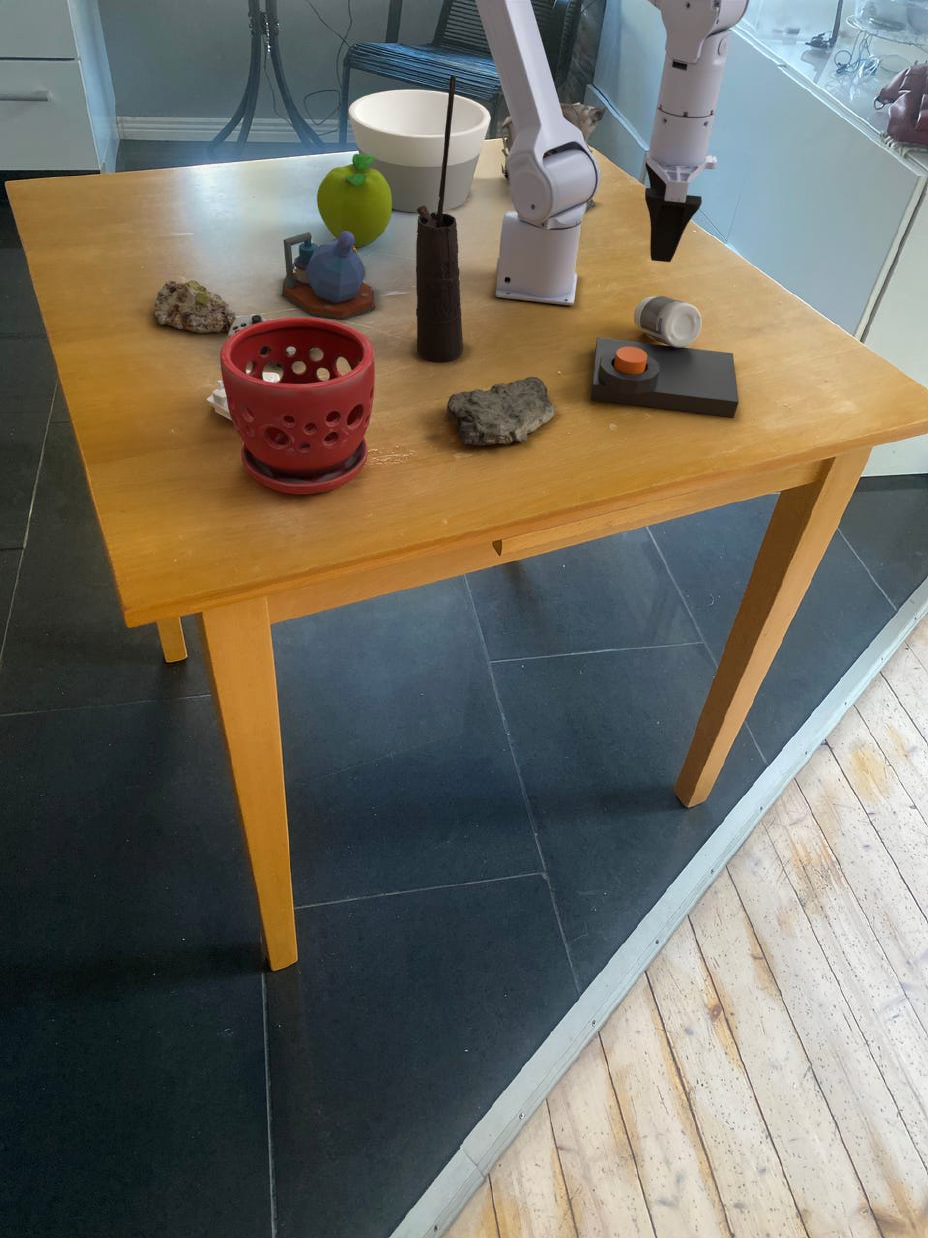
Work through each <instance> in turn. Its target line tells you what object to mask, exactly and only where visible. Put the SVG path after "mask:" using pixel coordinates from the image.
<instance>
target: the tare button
mask: <svg viewBox="0 0 928 1238" xmlns="http://www.w3.org/2000/svg"><path fill="white" fill-rule="evenodd" d="M646 361H647V354H646V352H644V351H643V350H641V349H639V348H636V347H622V348H620V349H618V350H617V352H616V357H615V362H614V368H615V369H616V370H617V371H620V372H622V373H624V374H632V375H636V374H642V373H643V372H644V370H645V366H646Z"/></svg>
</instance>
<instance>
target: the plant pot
mask: <svg viewBox="0 0 928 1238" xmlns="http://www.w3.org/2000/svg"><path fill="white" fill-rule="evenodd" d="M265 346H267V347H268V352H267V353H266V354H265V355H262V354H260V350H261V349H262V348H263V347H265ZM288 347H294V348H295V349H296V352H295V353H294V354H292V355H288V354H287V353H286V349H287V348H288ZM313 348H315V349H318V350H320V351H321V352H322V358H321V359H315V358H314V357H312V355H311V351H310V350H311V349H313ZM339 358H342V359H344V360H345V361H346V363H347V364H348V366H349V367H350V369H351V371H348V372H347V373H345V374H343V375H342V374H341V373H340V371H339V370H338V366H337V363H338V359H339ZM219 361H220V362H219V363H220V373H221V376H222V378H221V381H222V380H223V384H224V389H225V393H226V397H227V404H228V410H229V413H230V416H231V419H232V420H231V422H232V424H233V427H234V429H235V431H236V433H237V435H238V437H239V439H240V440H241V442H242V446H241V450H240V458H241V462H242V464H243V466H244V468H245V470H246V471H247V473H248V474H249V475H250V476H251V477H252V478H253V479H255V480H256V481H257V482H259V483H260V484H262V485H264V486H266V487H267V488H269V489H272V490H274V491H277V492H281V493H285V494H292V495H311V494H320V493H324V492H329V491H331V490H335V489H337V488H340V487H342V486H344V485H345V484H347V483H348V482H350V481H352V480H353V479H354V478H355V477H356V476H357V475H358V474H360V472H362V470H363V469H364V467H365V465H366V462H367V459H368V454H369V447H368V446H369V445H368V443H367V439H366V438H365V435H366V432H367V430H368V427H369V424H370V422H371V421H370V420H371V418H372V417H371V416H372V411H373V405H374V399H375V378H376V377H375V375H376V371H375V370H376V368H375V367H376V366H375V352H374V347H373V346H372V343H371V342H370V341H369V339H368V337H366V336H365V335H364V334H363V333H362V332H360V331H358V330H357V329H355V328H353V327H351V326H349V325H346V324H345V323H341V322H339V321H335V320H330V319H325V318H318V317H304V316H303V317H302V316H301V317H299V316H298V317H297V316H296V317H295V316H292V317H291V316H290V317H281V318H274V319H269V320H268V321H263V322H260V323H256V324H253V325H250V326H248V327H246V328H244V329H241V330H240V331H238V332H236V333H235V334H233V335H232V336H231V337H230V338H229V339H228V338H227V340H226V341H225V342H224V343H223V345H222V347H221V349H220V353H219ZM249 362H251V364H252V365H251V369H250V371H251V372H250V373H248V374H247V373H246V370H247V366H248V363H249ZM297 362H300V363H303V364H304V365H305V370H304V371H302V372H297V371H295V370H294V369H293V365H294V364H295V363H297ZM277 363H278V364H280V365H281V366H282V367H281V369H282V376H281V377H280V380H279V381H278V382H276V383H273V382H268V381H264V380H263V372H264V369H266V367H267V366H268V365H271V364H277ZM319 369H324V370H326V371H327V372H328V374H329V377H328V379H326V380H323V379H321V378H320V377H319V376H318V370H319Z"/></svg>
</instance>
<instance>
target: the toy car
mask: <svg viewBox="0 0 928 1238" xmlns="http://www.w3.org/2000/svg"><path fill="white" fill-rule="evenodd" d="M250 372H251V369H250V370H249V369H246V373H247V374H248V373H250ZM220 379H221V380H220ZM220 379H219V380H216V383H217V384H218V388H215V389H214V390H213V391H212V392H211V394H210V396H209V397H207V398H206V402H208V403H209V404H210V405H211V406H212V407H213V408H214V412H215V413H217V414H219V415H221V416H223V417H224V418H226V419H227V420H230V421H232V419H231V416H230V413H229V410H228V404H227V397H226V393H225V389H224V384H223V380H222V375H220ZM280 379H281V377H280V375H279V374H278V373H276V372H268V371H267V372H264V371H263V380H264V381H268V382H273V383H276V382H278V381H279V380H280Z"/></svg>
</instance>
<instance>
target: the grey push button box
mask: <svg viewBox="0 0 928 1238" xmlns="http://www.w3.org/2000/svg"><path fill="white" fill-rule="evenodd" d="M594 347H595V348H594V354H593V365H592V377H591V389H590V401H594V402H595V401H596V402H604V403H613V404H619V405H620V404H621V405H628V406H636V407H637V406H638V407H645V408H653V409H661V410H669V411H676V412H677V411H678V412H686V413H692V414H693V413H694V414H701V415H711V416H719V417H727V418H735V416H736V412H737V409H738V406H739V402H740V401H739V394H738V386H737V385H738V384H737V378H736V377H737V376H736V368H735V358H734V353H733V352H725V351H716V350H708V349H699V348H692V347H683V348H676V347H672V346H670V345H667V344H659V343H658V344H657V343H649V342H642V341H633V340H625V339H615V338H607V337H598V336H597V337H596V341H595V346H594ZM622 347H636V348H639V349H641V350H643V351H644V352H646V354H647V361H646V366H645V370H644V372H643V373H642V374H636V375H632V374H624V373H622V372H620V371H617V370H616V369H615V368H614V362H615V357H616V352H617V350H618V349H620V348H622Z"/></svg>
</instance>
